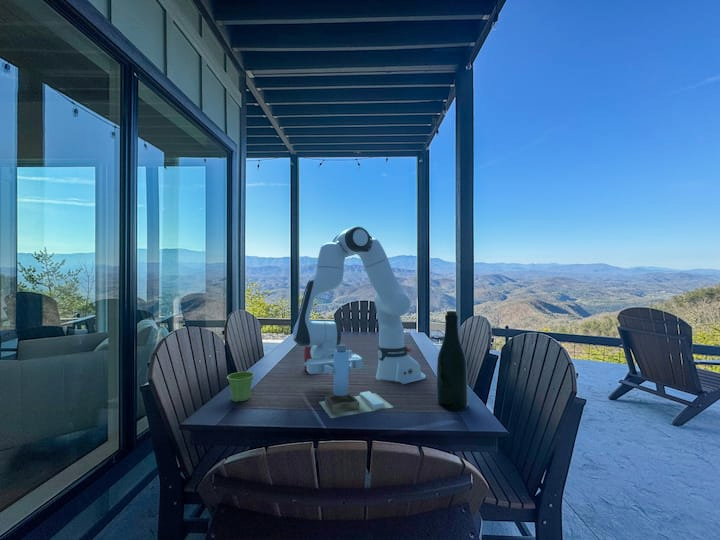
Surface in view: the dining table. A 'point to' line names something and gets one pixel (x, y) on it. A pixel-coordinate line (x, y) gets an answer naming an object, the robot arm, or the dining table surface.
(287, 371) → the dining table surface
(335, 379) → the tapered blue cylinder
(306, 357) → the beer can
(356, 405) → the jig
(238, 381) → the plant pot
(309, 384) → the dining table surface
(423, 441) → the dining table surface
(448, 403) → the green wine bottle
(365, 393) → the white rectangular bar
